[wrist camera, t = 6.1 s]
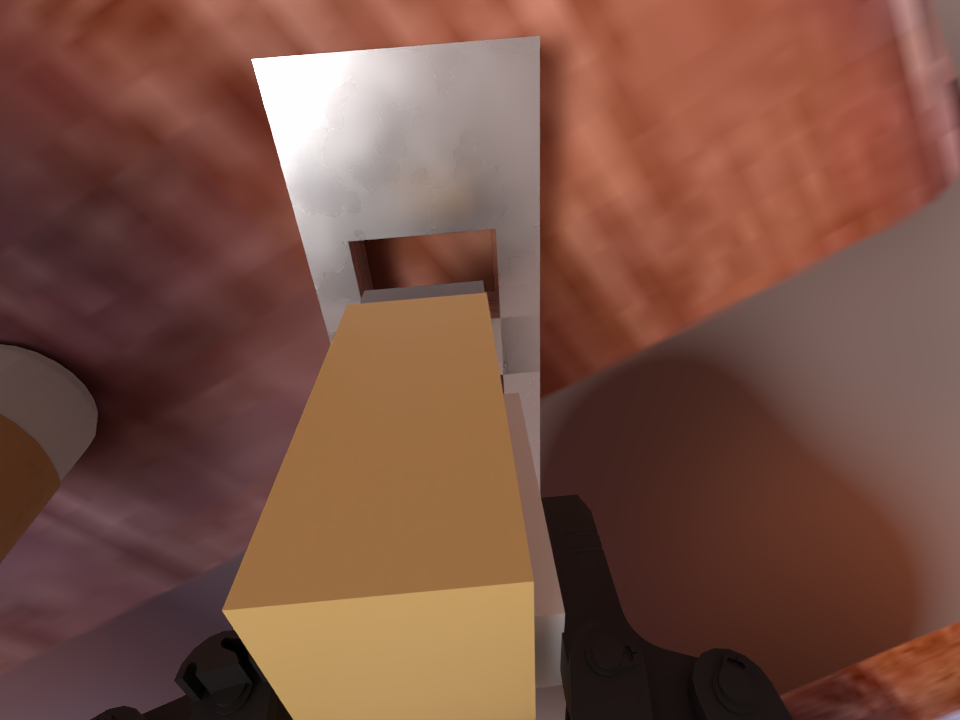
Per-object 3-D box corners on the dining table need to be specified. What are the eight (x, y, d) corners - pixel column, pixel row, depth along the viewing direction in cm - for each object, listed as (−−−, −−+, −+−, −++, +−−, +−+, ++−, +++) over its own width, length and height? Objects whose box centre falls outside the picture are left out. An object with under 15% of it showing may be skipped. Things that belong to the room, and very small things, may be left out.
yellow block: (496, 476, 19) (536, 823, 10) (406, 484, 19) (371, 839, 10) (481, 261, 14) (533, 582, 5) (360, 272, 14) (222, 610, 5)
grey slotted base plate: (532, 476, 26) (540, 513, 24) (387, 490, 26) (382, 528, 24) (527, 38, 15) (540, 35, 13) (278, 58, 15) (251, 59, 13)
